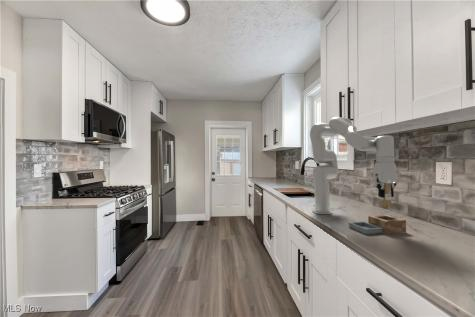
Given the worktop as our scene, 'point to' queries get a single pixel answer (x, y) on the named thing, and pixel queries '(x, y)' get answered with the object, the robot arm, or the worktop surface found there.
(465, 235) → the worktop surface
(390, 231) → the brown wooden box
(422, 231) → the worktop surface
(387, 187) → the sprinkles bottle
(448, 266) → the worktop surface
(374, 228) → the tray
